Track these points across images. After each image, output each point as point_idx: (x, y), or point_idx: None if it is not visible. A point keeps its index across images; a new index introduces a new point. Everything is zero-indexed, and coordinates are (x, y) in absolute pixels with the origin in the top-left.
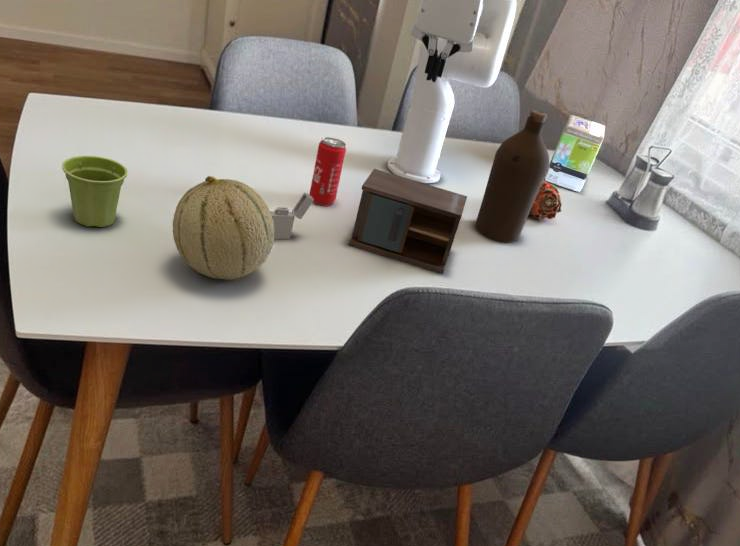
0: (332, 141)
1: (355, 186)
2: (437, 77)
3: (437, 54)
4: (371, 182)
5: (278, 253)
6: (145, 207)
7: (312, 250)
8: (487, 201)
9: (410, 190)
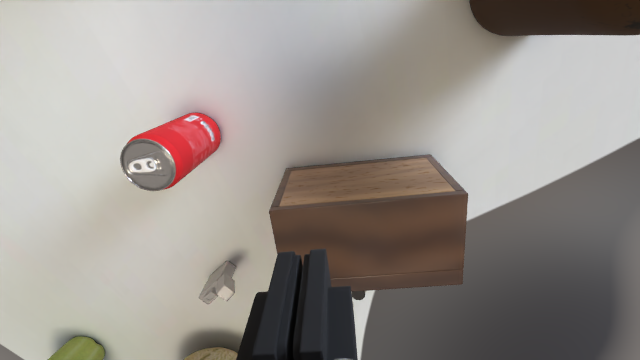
0: (144, 163)
1: (207, 8)
2: (326, 259)
3: (275, 349)
4: None
5: (245, 302)
6: (89, 304)
7: (269, 274)
8: (507, 15)
9: (359, 255)
